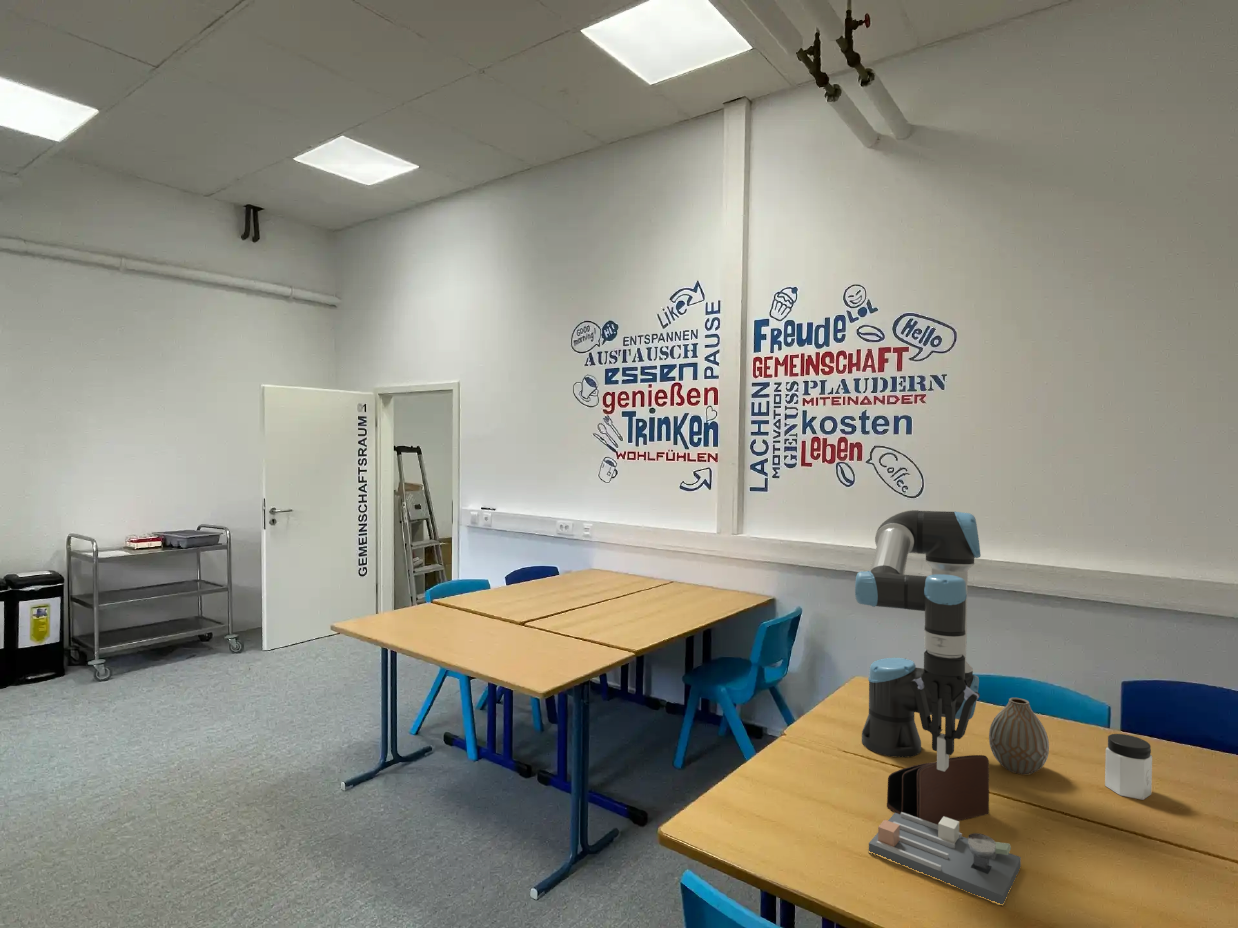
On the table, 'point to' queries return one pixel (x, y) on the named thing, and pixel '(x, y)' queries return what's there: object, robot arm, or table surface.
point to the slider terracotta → (888, 833)
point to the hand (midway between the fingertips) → (942, 767)
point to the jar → (1128, 766)
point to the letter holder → (941, 789)
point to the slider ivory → (948, 829)
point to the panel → (949, 858)
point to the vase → (1019, 738)
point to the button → (981, 849)
